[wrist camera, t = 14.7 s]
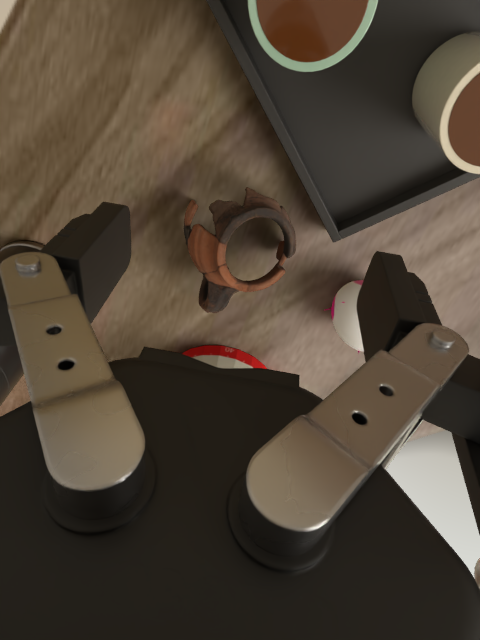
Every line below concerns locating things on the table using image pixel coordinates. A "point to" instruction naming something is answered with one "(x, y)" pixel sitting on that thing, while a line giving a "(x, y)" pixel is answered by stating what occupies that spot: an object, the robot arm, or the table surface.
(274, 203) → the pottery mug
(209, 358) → the kitchen timer
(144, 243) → the table surface
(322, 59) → the green cup
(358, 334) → the stress ball
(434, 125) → the cream cup
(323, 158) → the tray
